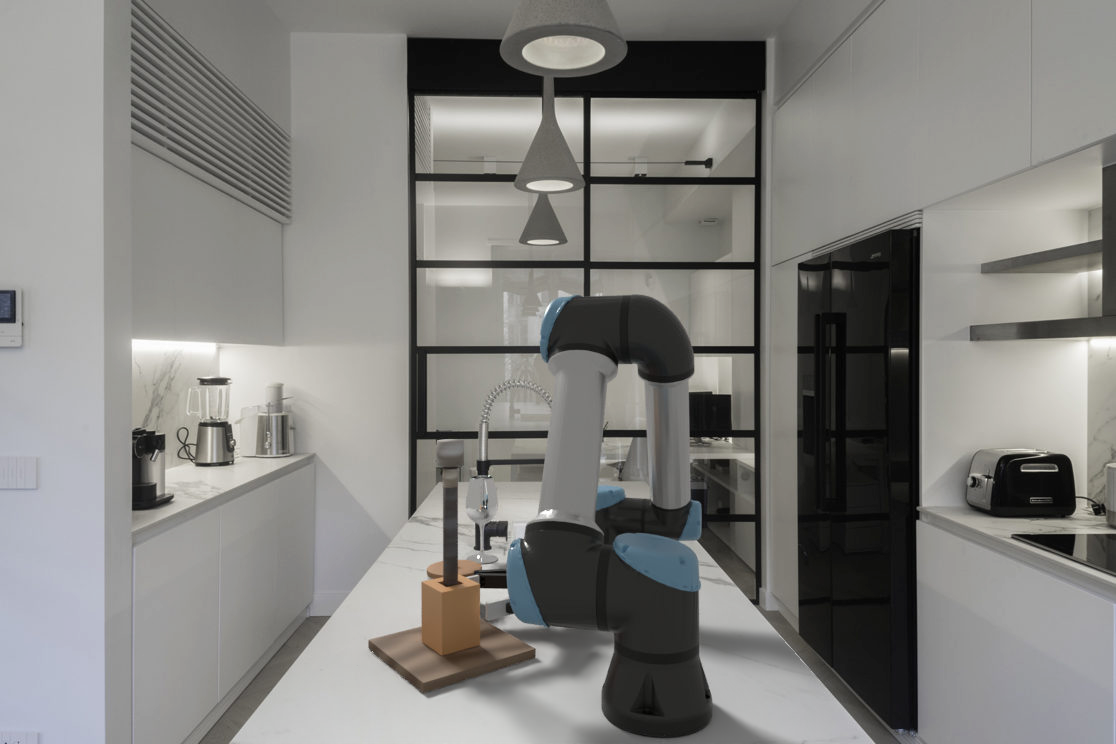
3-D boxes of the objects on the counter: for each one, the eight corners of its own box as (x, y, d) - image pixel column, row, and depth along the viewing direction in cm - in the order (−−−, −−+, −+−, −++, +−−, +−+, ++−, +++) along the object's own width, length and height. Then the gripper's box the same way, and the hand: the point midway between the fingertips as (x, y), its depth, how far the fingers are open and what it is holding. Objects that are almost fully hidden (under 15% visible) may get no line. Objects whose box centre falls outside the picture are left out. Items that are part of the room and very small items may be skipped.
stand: (535, 657, 114) (535, 442, 114) (423, 693, 102) (422, 451, 102) (472, 621, 130) (471, 432, 130) (368, 648, 118) (367, 439, 117)
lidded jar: (472, 618, 132) (471, 568, 132) (418, 614, 134) (417, 564, 134) (488, 599, 143) (488, 552, 143) (438, 595, 145) (438, 550, 145)
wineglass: (504, 558, 172) (504, 476, 172) (484, 566, 166) (484, 481, 165) (479, 553, 176) (479, 473, 176) (458, 561, 170) (458, 478, 169)
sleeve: (480, 644, 116) (480, 584, 115) (441, 655, 111) (441, 592, 111) (458, 632, 121) (458, 573, 121) (421, 641, 117) (421, 581, 117)
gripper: (609, 616, 121) (506, 646, 109) (527, 580, 141) (431, 602, 129) (610, 572, 121) (505, 597, 109) (527, 543, 141) (431, 561, 128)
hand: (465, 600), depth 119 cm, fingers open, 13 cm apart
